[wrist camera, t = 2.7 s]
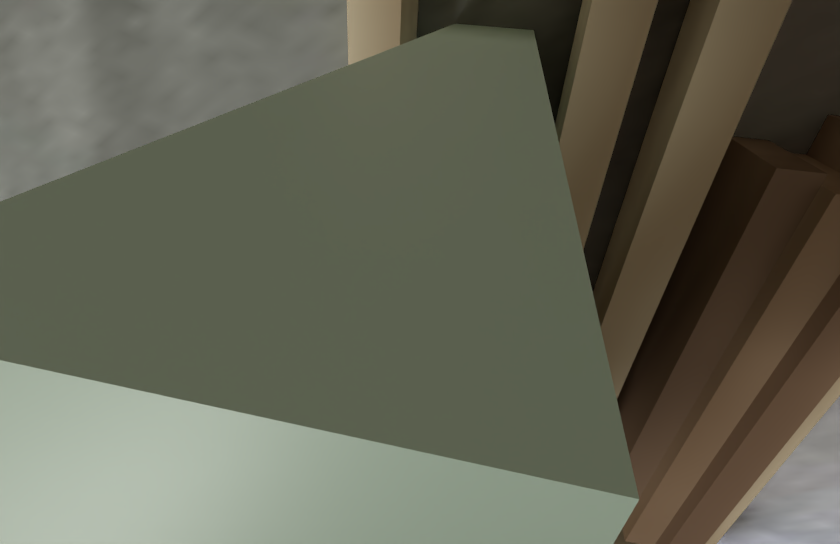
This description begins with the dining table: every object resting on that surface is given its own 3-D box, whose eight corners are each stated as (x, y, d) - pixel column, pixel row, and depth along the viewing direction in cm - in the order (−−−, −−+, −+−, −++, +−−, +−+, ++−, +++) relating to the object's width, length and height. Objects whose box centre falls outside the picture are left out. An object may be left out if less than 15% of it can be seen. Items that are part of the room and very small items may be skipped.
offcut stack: (867, 117, 9) (1009, 165, 6) (655, 475, 15) (683, 570, 13) (737, 104, 9) (823, 146, 6) (583, 462, 15) (597, 552, 13)
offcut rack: (1174, -166, 6) (1615, -274, 4) (662, 551, 17) (685, 647, 14) (349, -181, 8) (265, -266, 5) (361, 482, 19) (336, 557, 16)
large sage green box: (533, 30, 9) (641, 500, 1) (458, 456, 16) (390, 925, 8) (454, 23, 9) (-260, 304, 1) (416, 447, 17) (308, 896, 8)
